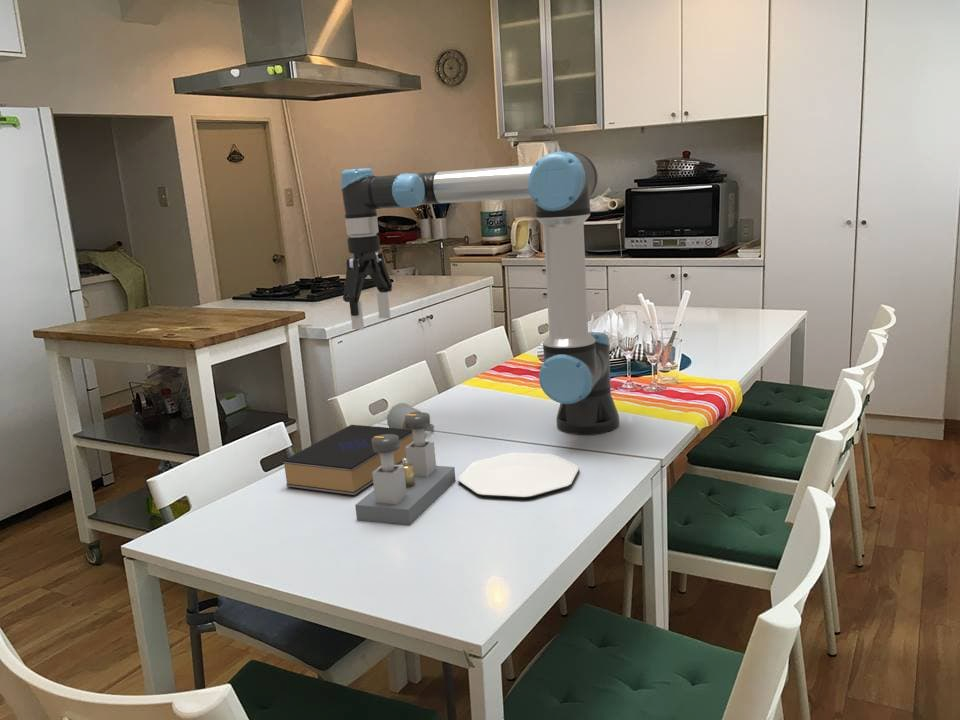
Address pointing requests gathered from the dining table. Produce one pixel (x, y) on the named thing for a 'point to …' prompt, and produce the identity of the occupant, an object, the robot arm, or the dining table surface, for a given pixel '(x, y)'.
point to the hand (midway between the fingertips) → (371, 323)
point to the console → (401, 502)
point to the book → (342, 460)
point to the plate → (518, 475)
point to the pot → (408, 473)
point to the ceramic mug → (402, 417)
